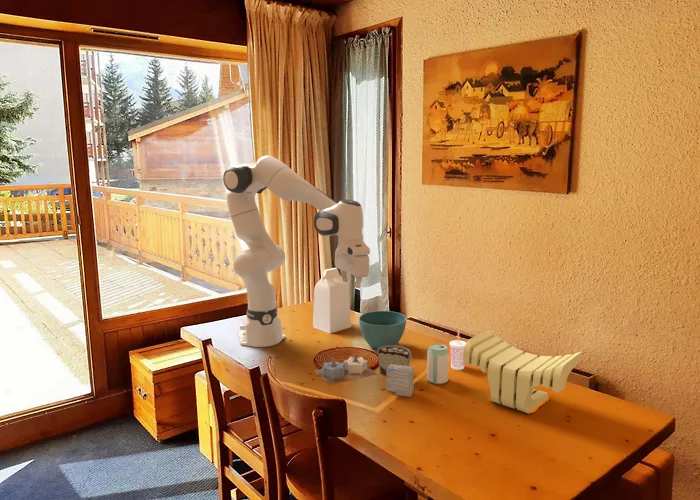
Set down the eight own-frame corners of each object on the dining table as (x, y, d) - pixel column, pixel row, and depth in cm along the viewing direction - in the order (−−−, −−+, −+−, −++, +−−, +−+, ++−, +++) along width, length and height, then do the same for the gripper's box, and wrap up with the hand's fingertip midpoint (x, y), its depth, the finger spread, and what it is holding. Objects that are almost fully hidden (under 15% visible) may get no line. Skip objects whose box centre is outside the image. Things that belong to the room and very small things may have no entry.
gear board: (313, 373, 189) (312, 353, 187) (359, 363, 197) (359, 345, 195) (329, 387, 177) (328, 367, 176) (376, 377, 185) (377, 357, 184)
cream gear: (340, 371, 187) (340, 362, 187) (353, 363, 194) (352, 355, 193) (358, 376, 183) (358, 367, 183) (370, 368, 190) (370, 359, 189)
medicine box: (413, 391, 174) (414, 366, 172) (410, 397, 170) (410, 371, 168) (389, 388, 176) (389, 363, 175) (386, 394, 172) (386, 368, 171)
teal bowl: (399, 359, 201) (399, 327, 199) (353, 353, 207) (352, 322, 204) (410, 342, 218) (410, 313, 216) (367, 337, 224) (366, 309, 221)
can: (430, 375, 187) (431, 341, 184) (450, 378, 184) (451, 344, 181) (424, 382, 180) (424, 348, 178) (444, 386, 177) (445, 352, 175)
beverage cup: (446, 368, 192) (447, 330, 189) (451, 362, 197) (452, 325, 194) (463, 371, 189) (464, 333, 186) (468, 365, 194) (469, 328, 192)
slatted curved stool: (462, 395, 171) (463, 342, 168) (487, 379, 182) (489, 329, 179) (556, 428, 151) (560, 367, 148) (577, 407, 162) (582, 351, 159)
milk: (333, 321, 245) (332, 264, 241) (350, 327, 237) (350, 269, 232) (312, 327, 237) (311, 269, 233) (329, 333, 229) (328, 273, 224)
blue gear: (318, 372, 186) (318, 363, 186) (339, 368, 190) (339, 359, 189) (327, 380, 180) (327, 371, 179) (348, 375, 183) (348, 367, 183)
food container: (416, 375, 186) (416, 347, 185) (410, 382, 181) (410, 353, 179) (382, 369, 192) (382, 342, 190) (376, 376, 186) (376, 348, 184)
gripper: (330, 242, 198) (330, 279, 201) (356, 251, 180) (356, 292, 183) (345, 241, 201) (346, 277, 204) (372, 250, 183) (372, 289, 186)
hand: (351, 284), depth 193 cm, fingers open, 8 cm apart
